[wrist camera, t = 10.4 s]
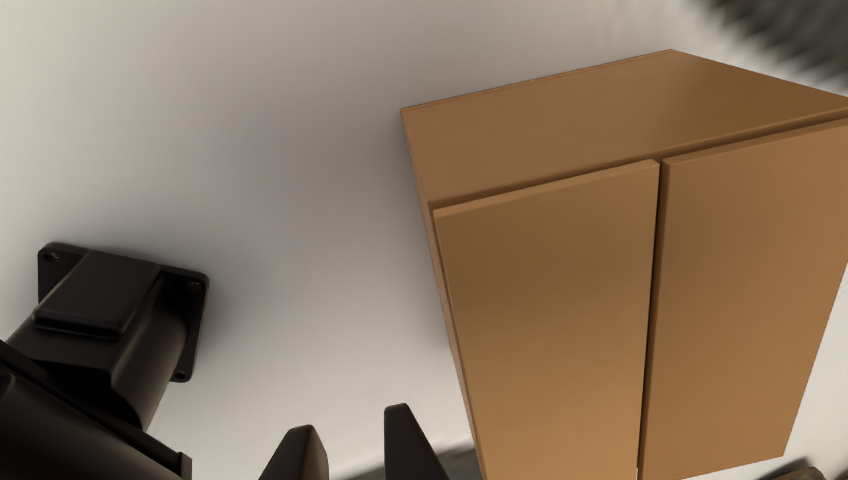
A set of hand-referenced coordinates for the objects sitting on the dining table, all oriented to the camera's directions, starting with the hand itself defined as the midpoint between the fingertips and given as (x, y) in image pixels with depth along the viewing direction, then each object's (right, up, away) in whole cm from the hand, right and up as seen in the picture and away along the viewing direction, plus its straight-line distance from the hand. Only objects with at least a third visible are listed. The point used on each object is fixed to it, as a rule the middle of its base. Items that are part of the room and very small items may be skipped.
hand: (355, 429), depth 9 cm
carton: (+7, +4, +14) cm, 16 cm away
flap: (+5, -1, +6) cm, 8 cm away
